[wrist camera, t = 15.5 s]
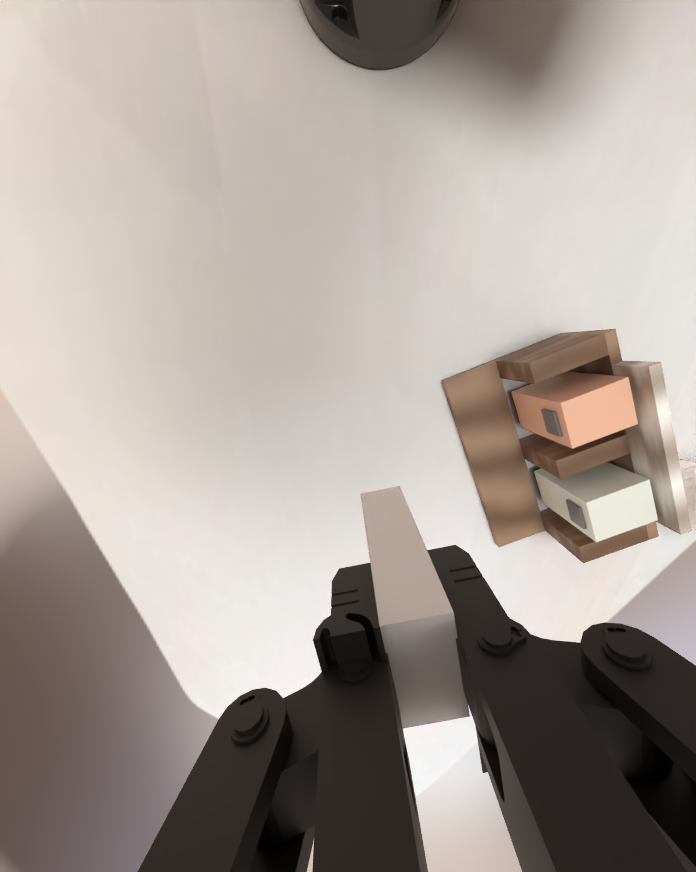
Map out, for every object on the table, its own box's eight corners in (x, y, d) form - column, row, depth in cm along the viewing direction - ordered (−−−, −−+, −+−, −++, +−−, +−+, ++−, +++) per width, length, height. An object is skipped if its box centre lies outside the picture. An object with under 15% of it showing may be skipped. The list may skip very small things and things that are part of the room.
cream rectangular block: (531, 471, 42) (583, 503, 33) (583, 452, 41) (649, 479, 33) (540, 504, 43) (593, 543, 34) (591, 485, 42) (657, 520, 34)
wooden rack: (441, 380, 40) (483, 392, 29) (560, 333, 40) (654, 325, 28) (495, 543, 45) (550, 609, 34) (602, 503, 44) (696, 558, 33)
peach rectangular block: (508, 392, 40) (557, 404, 31) (563, 371, 39) (628, 376, 30) (519, 428, 41) (569, 449, 32) (572, 408, 40) (638, 423, 31)
